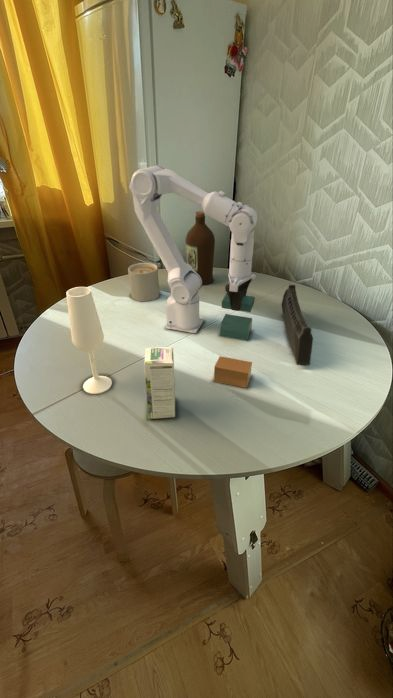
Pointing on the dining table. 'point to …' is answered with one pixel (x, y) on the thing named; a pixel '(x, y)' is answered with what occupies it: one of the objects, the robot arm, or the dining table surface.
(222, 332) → the dark green block
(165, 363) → the syrup box
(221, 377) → the brown wooden block
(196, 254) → the olive oil
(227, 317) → the dark green block
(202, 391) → the dining table surface
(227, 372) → the orange brown block
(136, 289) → the coffee mug
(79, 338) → the champagne flute
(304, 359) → the magazine
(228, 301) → the dark teal flat block
